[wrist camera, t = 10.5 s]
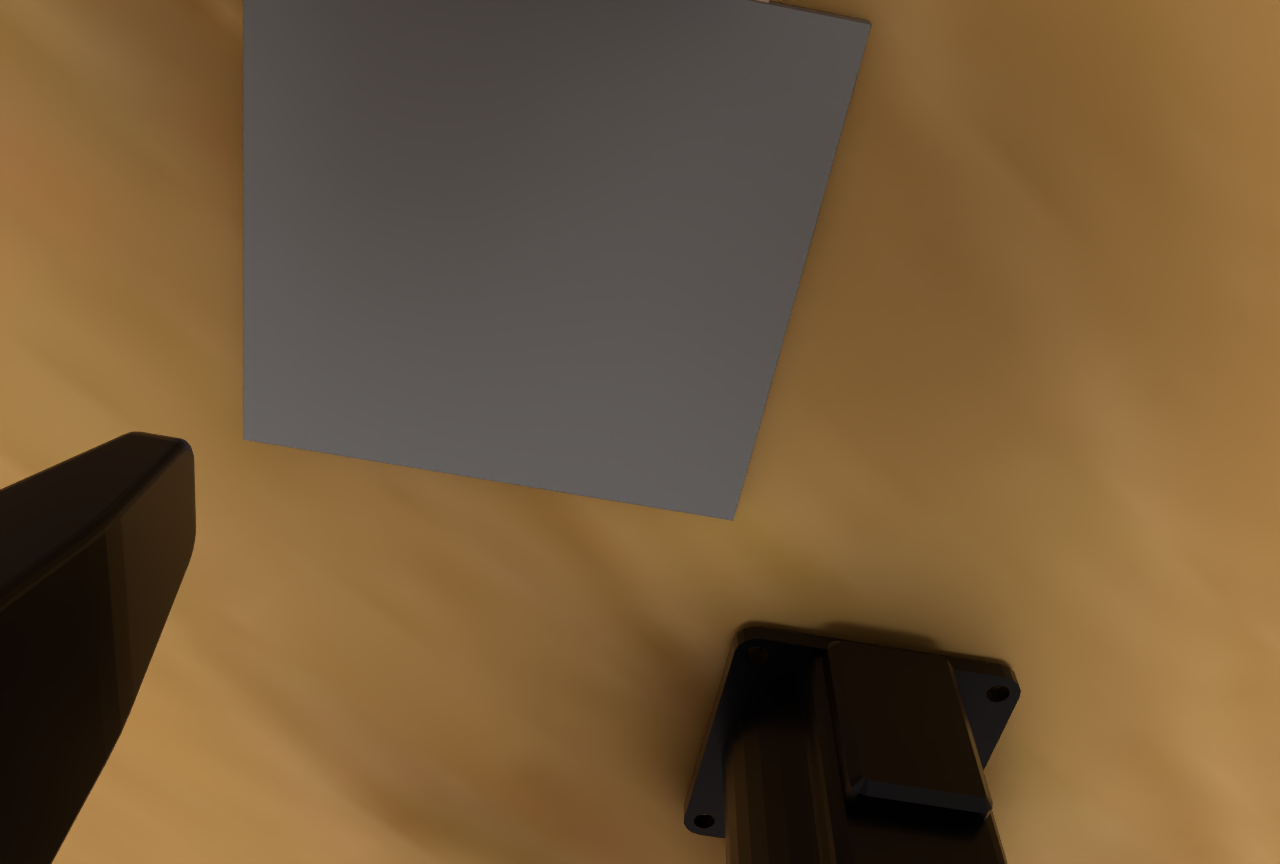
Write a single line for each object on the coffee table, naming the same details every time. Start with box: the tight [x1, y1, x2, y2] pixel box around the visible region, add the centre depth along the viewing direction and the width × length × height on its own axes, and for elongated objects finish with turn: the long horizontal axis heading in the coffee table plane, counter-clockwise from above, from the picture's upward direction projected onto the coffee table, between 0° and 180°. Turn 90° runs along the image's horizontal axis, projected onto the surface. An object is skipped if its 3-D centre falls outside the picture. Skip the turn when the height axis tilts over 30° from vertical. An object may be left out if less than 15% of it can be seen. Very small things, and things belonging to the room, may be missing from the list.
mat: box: [243, 0, 871, 521], centre depth 21 cm, size 10×10×1 cm
